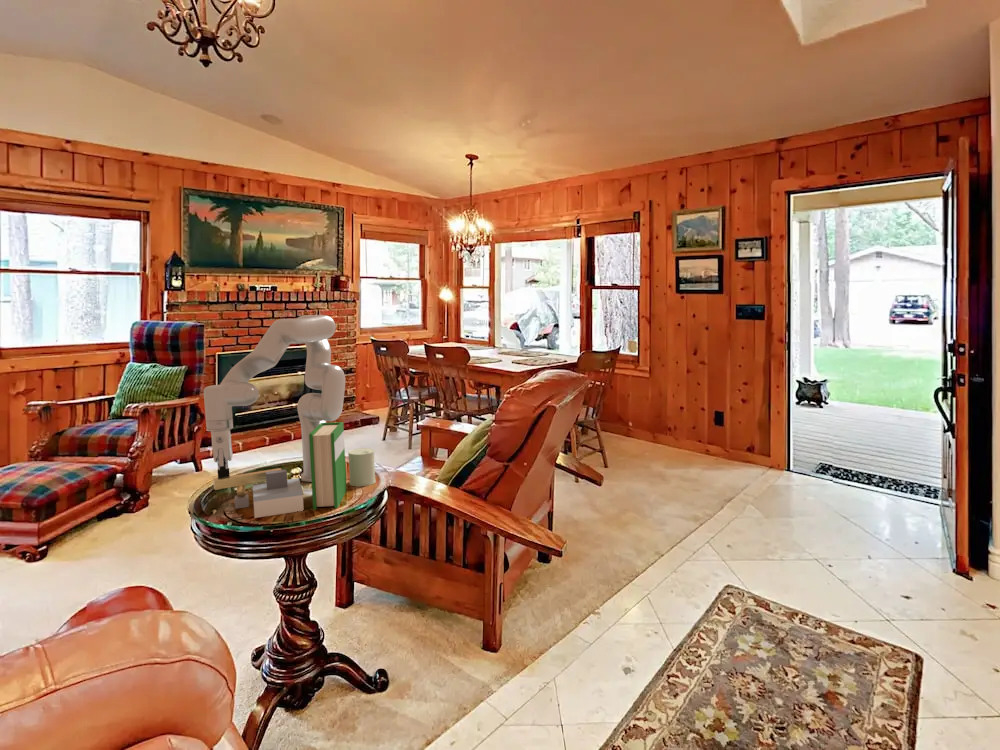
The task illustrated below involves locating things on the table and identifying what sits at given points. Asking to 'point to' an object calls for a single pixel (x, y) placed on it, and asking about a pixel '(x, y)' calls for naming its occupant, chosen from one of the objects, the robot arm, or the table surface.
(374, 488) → the table surface
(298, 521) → the table surface
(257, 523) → the table surface
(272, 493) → the snap lid
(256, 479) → the tan wooden plank
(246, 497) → the box
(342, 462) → the hardback book
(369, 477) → the can
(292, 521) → the table surface
